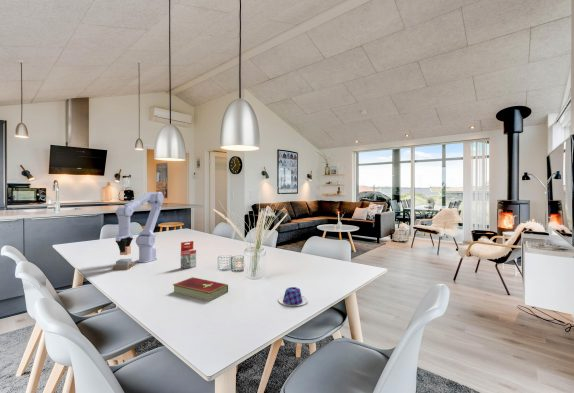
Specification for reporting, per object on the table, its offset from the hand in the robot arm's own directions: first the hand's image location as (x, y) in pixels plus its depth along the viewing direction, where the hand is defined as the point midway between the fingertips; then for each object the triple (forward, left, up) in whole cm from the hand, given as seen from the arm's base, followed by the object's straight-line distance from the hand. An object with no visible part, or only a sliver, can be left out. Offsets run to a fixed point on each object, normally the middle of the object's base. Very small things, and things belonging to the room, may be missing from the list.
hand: (124, 251), depth 160 cm
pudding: (+5, +105, -10) cm, 105 cm away
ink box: (-16, +32, -10) cm, 37 cm away
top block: (0, 0, -8) cm, 8 cm away
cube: (0, 0, -2) cm, 2 cm away
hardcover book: (+12, +64, -10) cm, 66 cm away
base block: (0, 0, -10) cm, 10 cm away
